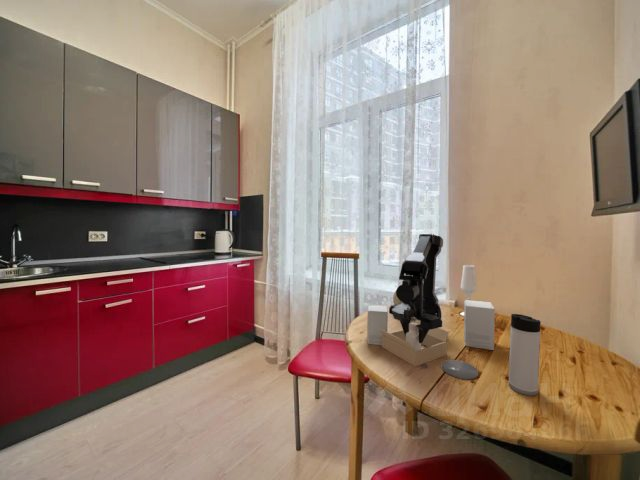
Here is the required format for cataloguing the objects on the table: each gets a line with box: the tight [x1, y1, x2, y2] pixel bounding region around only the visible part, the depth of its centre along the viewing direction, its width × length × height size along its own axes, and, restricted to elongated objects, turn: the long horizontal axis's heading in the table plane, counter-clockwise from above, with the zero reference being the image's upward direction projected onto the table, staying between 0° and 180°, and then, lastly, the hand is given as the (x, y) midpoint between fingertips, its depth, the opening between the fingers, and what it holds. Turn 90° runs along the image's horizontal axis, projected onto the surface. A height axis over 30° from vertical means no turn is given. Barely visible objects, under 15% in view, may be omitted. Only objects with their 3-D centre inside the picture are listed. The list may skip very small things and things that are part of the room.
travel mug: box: [508, 313, 541, 397], centre depth 71 cm, size 6×7×20 cm
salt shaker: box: [406, 322, 422, 351], centre depth 93 cm, size 4×4×10 cm
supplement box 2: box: [463, 299, 496, 351], centre depth 99 cm, size 9×9×15 cm
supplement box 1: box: [366, 305, 389, 346], centre depth 101 cm, size 7×7×13 cm
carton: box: [380, 319, 450, 367], centre depth 93 cm, size 19×15×7 cm
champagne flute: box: [459, 264, 477, 317], centre depth 130 cm, size 7×7×24 cm
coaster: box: [440, 359, 479, 380], centre depth 81 cm, size 10×10×1 cm
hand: (413, 339), depth 93 cm, fingers open, 6 cm apart
